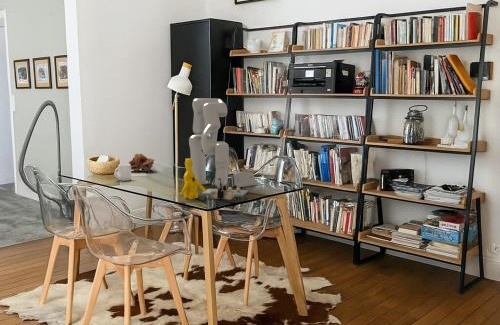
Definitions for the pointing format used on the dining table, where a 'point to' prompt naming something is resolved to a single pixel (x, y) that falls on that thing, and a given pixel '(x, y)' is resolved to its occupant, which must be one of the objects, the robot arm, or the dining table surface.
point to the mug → (123, 172)
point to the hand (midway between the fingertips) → (222, 196)
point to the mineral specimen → (141, 163)
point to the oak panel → (226, 194)
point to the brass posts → (237, 189)
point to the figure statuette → (190, 182)
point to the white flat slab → (241, 193)
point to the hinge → (243, 179)
